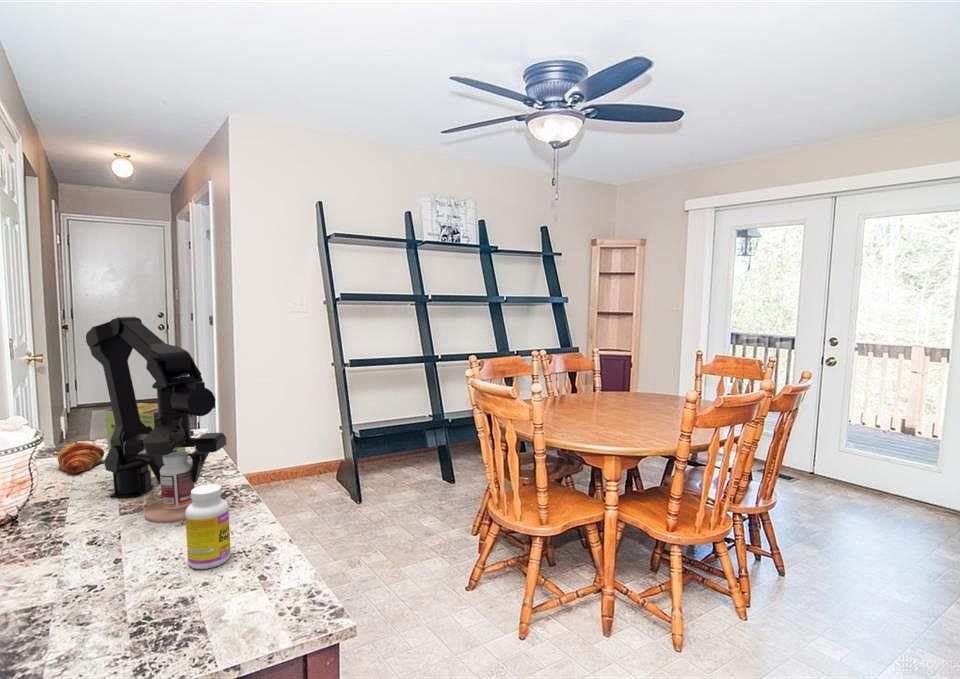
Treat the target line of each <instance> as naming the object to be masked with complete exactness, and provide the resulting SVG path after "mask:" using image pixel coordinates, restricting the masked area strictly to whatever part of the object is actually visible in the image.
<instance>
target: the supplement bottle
mask: <svg viewBox="0 0 960 679" xmlns="http://www.w3.org/2000/svg"><path fill="white" fill-rule="evenodd" d="M221 496H222V485H220V484H216V483H215V484H214V483H210V484H203V485H200V486H196V487H195V488H194V489H192V490H191V499H192V501H193V503H192V504H190V505H189V506H188V507H187V509H186V512H185V517H186V520H185V529H186V530H185V531H186V533H185V534H186V550H187V563H188V566H190V567H191V568H193V569H197V570H204V569H205V570H206V569H211V568H216V567H218V566H221V565H222V564H224V563H225V562H227V561H228V560H229V558H230V557H231V554H232V553H231V552H232V551H231V533H230V532H231V531H230V513H229V512H230V511H229V503H228V502H227V501H226V499H224V498H221Z"/></svg>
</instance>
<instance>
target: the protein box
mask: <svg viewBox="0 0 960 679" xmlns="http://www.w3.org/2000/svg"><path fill="white" fill-rule="evenodd" d="M137 407H138V411H139V416H140V420H141V422H142V423H143V424H144V425H145V426H147V427H148V426H150V427H151V428H152V429H153V430H154V427H155V419H156V418H158V417H159V416H158V403H144V402H143V403H142V402H139V403H137ZM105 421H106V434H107V435H106V436H107V448H108V449H107V450H108V452H107V454H108V453H109V451H110V449H111V443H110V440H111V437H112V435H113V433H114V431H115V428H116V424H115V419H114V415H113V410H112V408H111V409H107V410H105ZM184 443H185V442H184ZM186 450H187V449H186V447H174V449H173V451H172V452H171V453H173V452H187V451H186ZM164 465H165V464H164ZM148 469H149V470H150V471H151V472H153V471H152V469H151V467H150V466H149V464H148Z"/></svg>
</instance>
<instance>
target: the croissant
mask: <svg viewBox="0 0 960 679" xmlns="http://www.w3.org/2000/svg"><path fill="white" fill-rule="evenodd" d="M104 456H105V451H104V449H103V447H101V446H99V444H98V445H97V444H96V443H90V442H85V441H82V442H81V441H80V442H75V443H71V444H70V445H67V446H65V447H63V448H62V449H60V450H59V452H58V454H57V463H58V465H59V467H60V468H61V469H62V471H65V472H67V473H71V474H76V473H81V471H82V472H85V471H88V469H89V470H91V469H92V468H93V466H94V467H95V466H96V465H97V464H99V462H100V461H101V460H102V459H103V458H104Z"/></svg>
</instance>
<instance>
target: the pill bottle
mask: <svg viewBox="0 0 960 679" xmlns="http://www.w3.org/2000/svg"><path fill="white" fill-rule="evenodd" d="M188 460H189V455H188V452H187V451H186V452H173V453H170V454H168V455H164V456H163V463H164V464H165V465H164V466H162V467H161V469H160V481H161V484H160V490H161V500H162V504H163V507H164V508H165V509H168V510H175V509H181V508H185V507H188V506H189V505H190V504H192V503H193V501H192V499H191V490H192V489H194V488H196V487H195V483H193V478H192V463H191V462H190V461H188Z"/></svg>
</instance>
